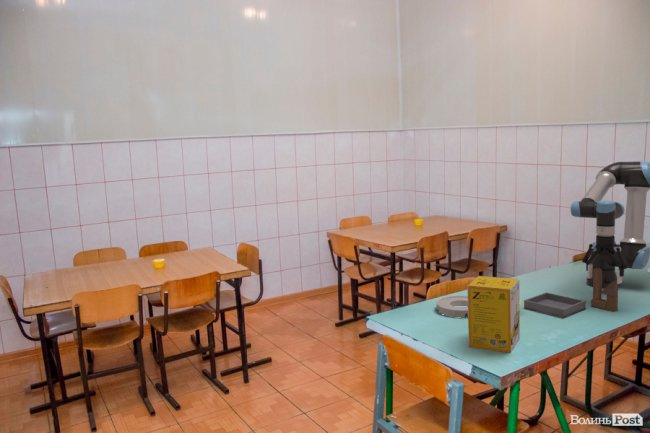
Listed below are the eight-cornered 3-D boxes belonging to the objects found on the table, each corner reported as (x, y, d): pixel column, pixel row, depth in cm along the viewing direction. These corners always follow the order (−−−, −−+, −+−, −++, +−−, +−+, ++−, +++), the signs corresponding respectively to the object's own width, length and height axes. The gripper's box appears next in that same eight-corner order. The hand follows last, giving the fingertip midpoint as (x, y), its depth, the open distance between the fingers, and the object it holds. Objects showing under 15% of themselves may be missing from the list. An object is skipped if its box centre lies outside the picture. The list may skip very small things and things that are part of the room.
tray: (546, 300, 270) (546, 292, 269) (585, 309, 254) (585, 300, 253) (524, 308, 260) (524, 300, 259) (563, 318, 244) (563, 309, 243)
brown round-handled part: (613, 311, 248) (614, 273, 246) (590, 306, 257) (591, 269, 255) (618, 310, 250) (618, 271, 248) (595, 304, 259) (595, 267, 257)
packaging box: (479, 333, 232) (478, 275, 229) (519, 338, 224) (519, 278, 220) (468, 346, 218) (467, 285, 215) (510, 353, 210) (510, 289, 206)
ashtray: (472, 322, 247) (471, 313, 246) (427, 313, 262) (427, 305, 262) (495, 308, 263) (495, 300, 263) (452, 300, 279) (452, 293, 278)
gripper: (574, 233, 257) (574, 277, 260) (629, 239, 237) (628, 287, 239) (583, 231, 261) (582, 274, 264) (638, 236, 241) (636, 284, 244)
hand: (604, 280), depth 252 cm, fingers open, 13 cm apart
